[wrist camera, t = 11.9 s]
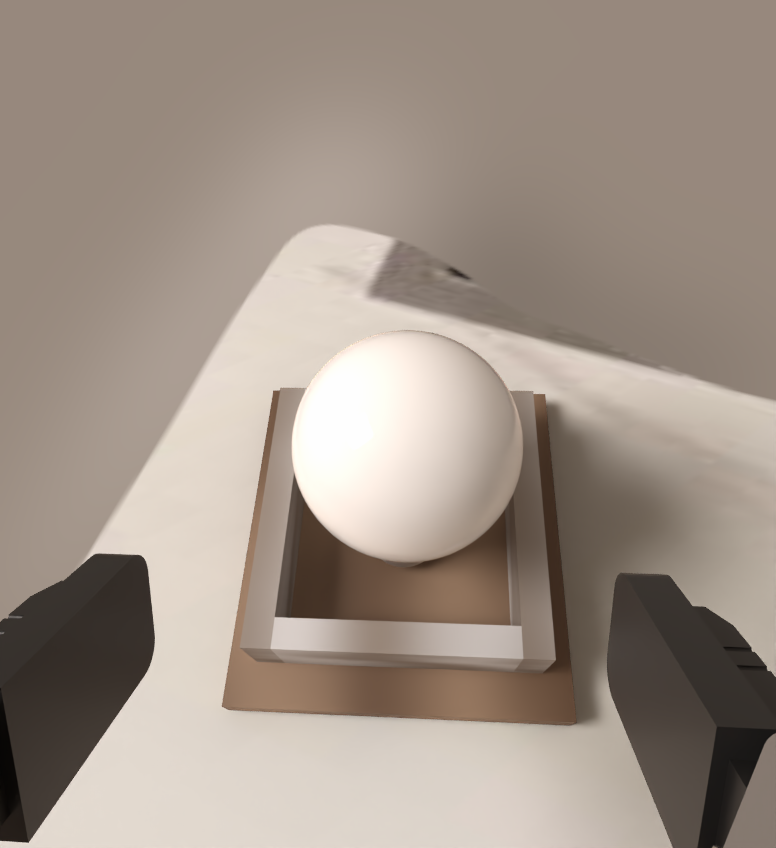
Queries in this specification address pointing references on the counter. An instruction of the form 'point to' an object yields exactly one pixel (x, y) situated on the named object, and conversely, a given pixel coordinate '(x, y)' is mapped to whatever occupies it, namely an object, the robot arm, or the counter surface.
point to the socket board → (403, 607)
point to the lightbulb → (407, 446)
